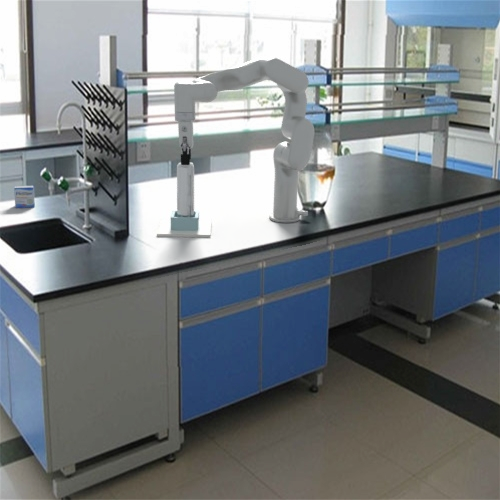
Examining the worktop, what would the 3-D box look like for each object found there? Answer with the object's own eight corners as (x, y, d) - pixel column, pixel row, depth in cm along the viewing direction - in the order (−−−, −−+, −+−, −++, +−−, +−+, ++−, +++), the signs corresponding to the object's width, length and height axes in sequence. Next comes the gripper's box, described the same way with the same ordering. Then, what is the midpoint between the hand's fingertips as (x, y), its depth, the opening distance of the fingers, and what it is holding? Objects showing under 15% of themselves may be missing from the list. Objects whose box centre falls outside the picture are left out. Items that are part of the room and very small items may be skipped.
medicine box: (15, 208, 302) (13, 188, 300) (15, 205, 307) (14, 185, 304) (34, 207, 304) (33, 187, 302) (35, 204, 309) (33, 184, 306)
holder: (211, 222, 290) (211, 208, 288) (210, 237, 271) (210, 221, 269) (161, 221, 289) (161, 207, 287) (156, 236, 270) (156, 221, 268)
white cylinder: (194, 224, 283) (194, 161, 275) (193, 229, 277) (193, 164, 269) (177, 224, 283) (177, 161, 275) (176, 228, 276) (176, 164, 269)
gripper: (194, 119, 258) (195, 167, 264) (196, 113, 274) (196, 157, 280) (173, 119, 258) (174, 166, 263) (176, 112, 274) (177, 157, 280)
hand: (186, 162), depth 272 cm, fingers open, 9 cm apart
